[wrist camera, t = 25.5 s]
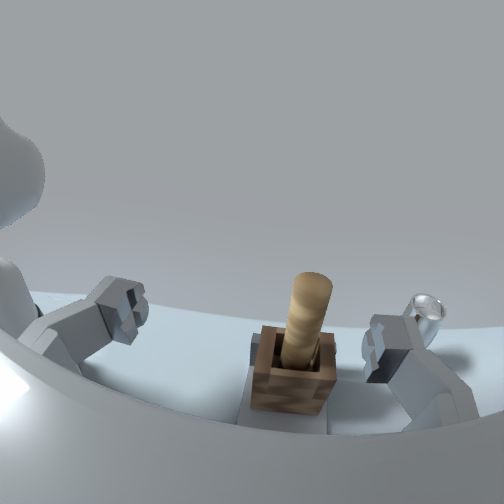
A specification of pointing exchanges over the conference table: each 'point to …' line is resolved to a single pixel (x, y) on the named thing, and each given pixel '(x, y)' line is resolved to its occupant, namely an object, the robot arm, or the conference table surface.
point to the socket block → (292, 376)
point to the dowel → (304, 320)
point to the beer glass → (426, 315)
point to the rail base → (276, 419)
